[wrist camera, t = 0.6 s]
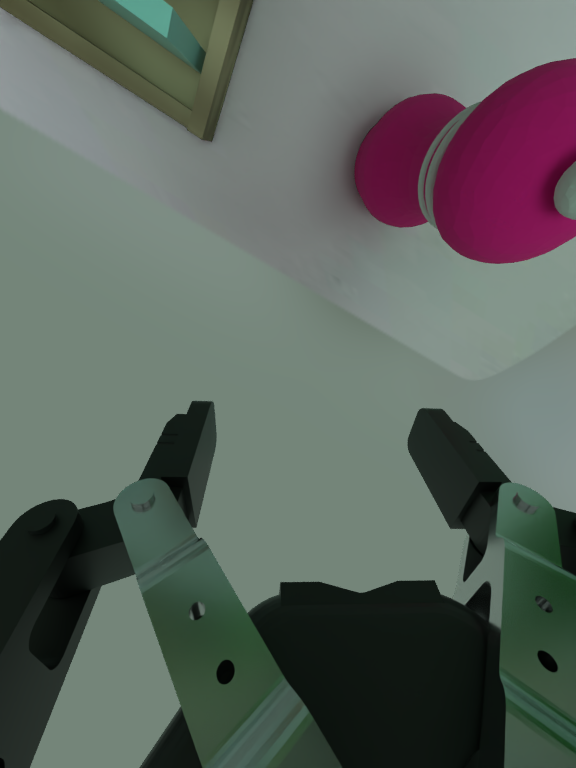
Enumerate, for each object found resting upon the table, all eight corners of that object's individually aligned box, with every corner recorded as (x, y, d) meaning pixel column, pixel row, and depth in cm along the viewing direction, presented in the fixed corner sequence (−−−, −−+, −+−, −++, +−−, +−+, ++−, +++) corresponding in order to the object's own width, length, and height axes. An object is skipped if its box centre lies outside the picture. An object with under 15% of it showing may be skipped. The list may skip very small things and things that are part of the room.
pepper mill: (349, 223, 26) (455, 329, 10) (346, 114, 21) (526, 4, 6) (432, 208, 25) (681, 296, 10) (447, 93, 21) (956, -95, 5)
